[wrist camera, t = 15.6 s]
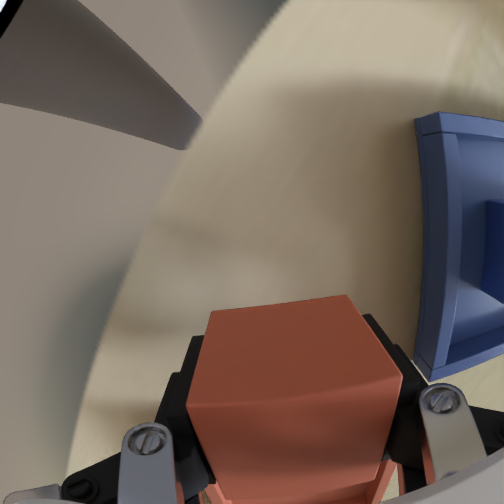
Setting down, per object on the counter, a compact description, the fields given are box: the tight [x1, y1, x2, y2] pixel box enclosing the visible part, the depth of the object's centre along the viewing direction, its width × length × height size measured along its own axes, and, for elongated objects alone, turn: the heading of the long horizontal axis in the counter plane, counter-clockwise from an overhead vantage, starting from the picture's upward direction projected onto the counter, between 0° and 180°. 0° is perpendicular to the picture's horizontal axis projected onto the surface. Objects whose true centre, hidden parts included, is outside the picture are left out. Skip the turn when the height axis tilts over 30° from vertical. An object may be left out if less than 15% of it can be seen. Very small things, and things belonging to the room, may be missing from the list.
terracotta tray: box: [204, 459, 397, 504], centre depth 14 cm, size 12×12×2 cm
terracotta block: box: [186, 294, 403, 500], centre depth 8 cm, size 4×4×4 cm
